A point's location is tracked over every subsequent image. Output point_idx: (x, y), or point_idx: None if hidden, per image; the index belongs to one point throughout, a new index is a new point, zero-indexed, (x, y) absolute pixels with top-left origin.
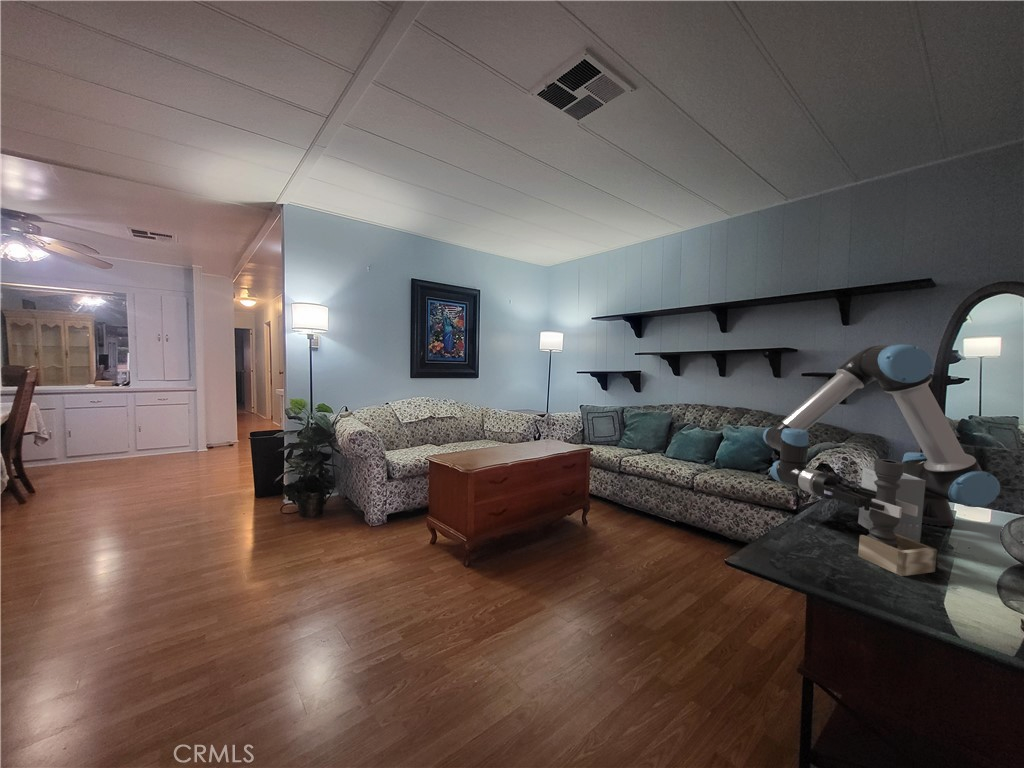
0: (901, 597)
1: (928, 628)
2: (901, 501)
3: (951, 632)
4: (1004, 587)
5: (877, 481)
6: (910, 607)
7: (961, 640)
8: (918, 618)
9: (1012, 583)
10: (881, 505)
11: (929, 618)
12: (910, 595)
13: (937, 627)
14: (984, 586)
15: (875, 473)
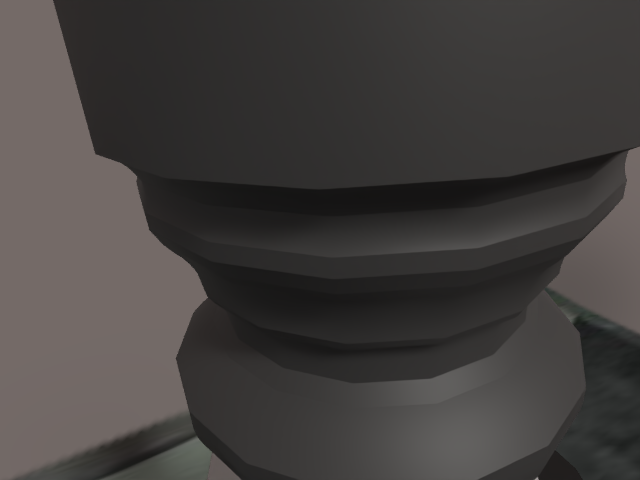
0: (612, 438)
1: (635, 337)
2: (221, 464)
3: (582, 326)
4: (120, 455)
5: (551, 337)
6: (620, 397)
7: (581, 311)
8: (633, 362)
9: (40, 473)
10: (554, 455)
11: (597, 360)
12: (563, 445)
13: (605, 338)
14: (185, 467)
15: (611, 194)
